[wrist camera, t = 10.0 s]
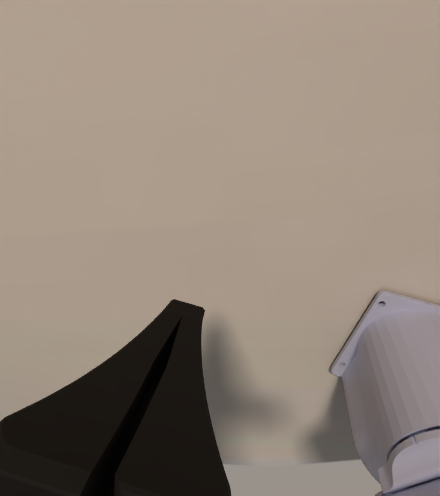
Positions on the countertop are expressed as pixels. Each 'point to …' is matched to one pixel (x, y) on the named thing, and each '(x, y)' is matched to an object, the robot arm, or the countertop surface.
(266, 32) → the countertop surface
